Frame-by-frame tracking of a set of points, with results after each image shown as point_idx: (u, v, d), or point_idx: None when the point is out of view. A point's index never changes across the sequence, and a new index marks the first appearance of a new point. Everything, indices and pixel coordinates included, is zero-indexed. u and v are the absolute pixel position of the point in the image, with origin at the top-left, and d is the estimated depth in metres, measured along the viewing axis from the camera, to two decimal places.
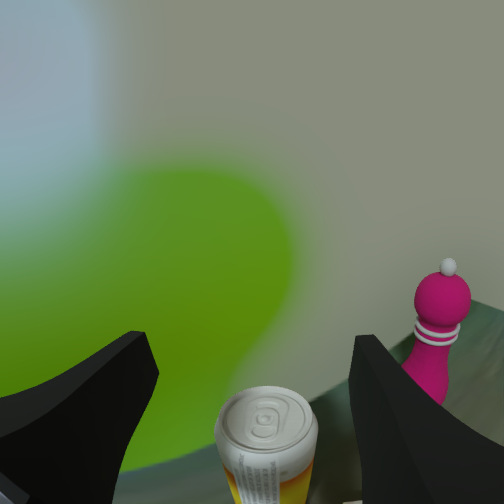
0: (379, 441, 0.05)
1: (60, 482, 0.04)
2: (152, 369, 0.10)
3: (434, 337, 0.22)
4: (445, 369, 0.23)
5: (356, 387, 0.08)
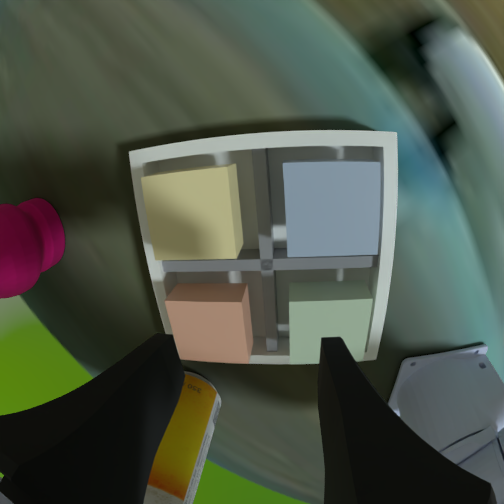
0: (334, 446, 0.05)
1: (92, 498, 0.04)
2: (179, 373, 0.09)
3: None
4: None
5: (321, 389, 0.08)
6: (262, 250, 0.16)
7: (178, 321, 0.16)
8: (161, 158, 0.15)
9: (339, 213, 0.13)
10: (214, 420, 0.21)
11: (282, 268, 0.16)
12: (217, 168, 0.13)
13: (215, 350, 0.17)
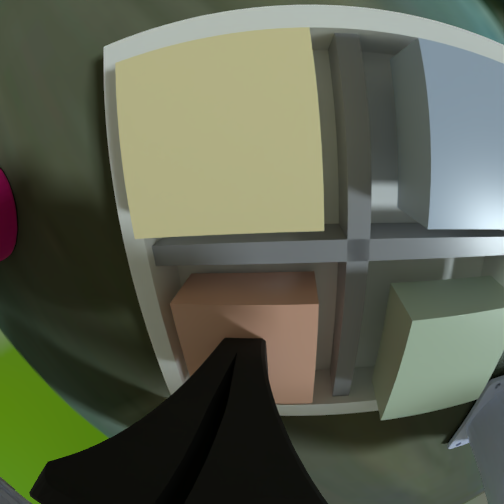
0: None
1: None
2: None
3: None
4: None
5: None
6: (353, 222, 0.08)
7: (195, 340, 0.09)
8: (161, 46, 0.06)
9: None
10: None
11: (385, 257, 0.08)
12: (287, 29, 0.05)
13: None
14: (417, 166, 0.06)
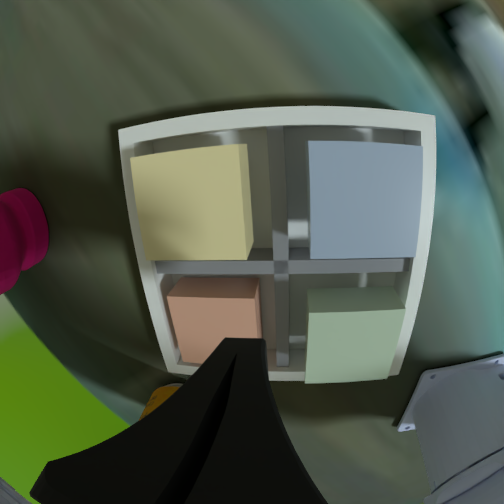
0: None
1: None
2: None
3: None
4: None
5: None
6: (276, 250, 0.13)
7: (181, 319, 0.15)
8: (156, 136, 0.12)
9: (375, 205, 0.10)
10: None
11: (299, 272, 0.14)
12: (225, 146, 0.10)
13: None
14: (309, 219, 0.11)
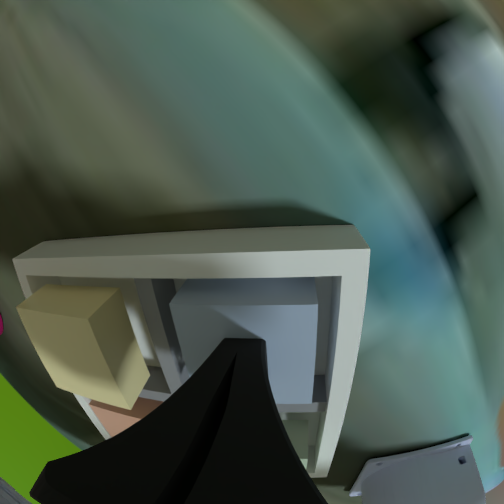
0: None
1: None
2: None
3: None
4: None
5: None
6: (171, 387, 0.11)
7: (106, 421, 0.13)
8: (39, 274, 0.10)
9: None
10: None
11: None
12: (78, 318, 0.08)
13: None
14: None
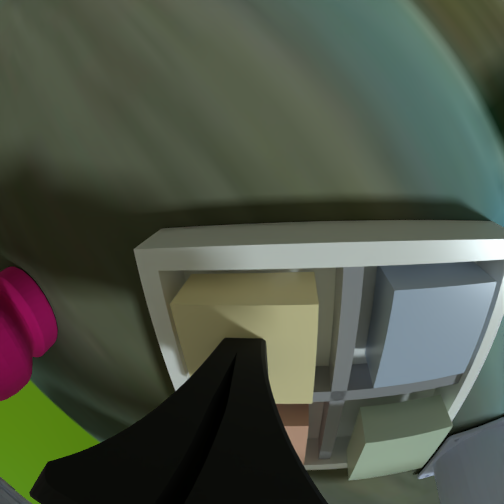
0: None
1: None
2: None
3: None
4: None
5: None
6: (336, 383, 0.11)
7: None
8: (191, 268, 0.09)
9: (442, 341, 0.09)
10: None
11: (356, 398, 0.11)
12: (302, 305, 0.08)
13: None
14: (375, 351, 0.10)
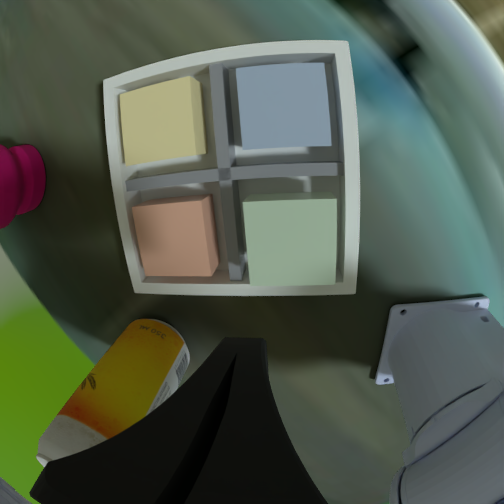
0: None
1: None
2: None
3: None
4: None
5: None
6: (219, 159, 0.15)
7: (143, 229, 0.17)
8: (129, 81, 0.14)
9: (288, 106, 0.13)
10: (178, 372, 0.20)
11: (240, 177, 0.15)
12: (181, 78, 0.13)
13: (177, 260, 0.17)
14: None
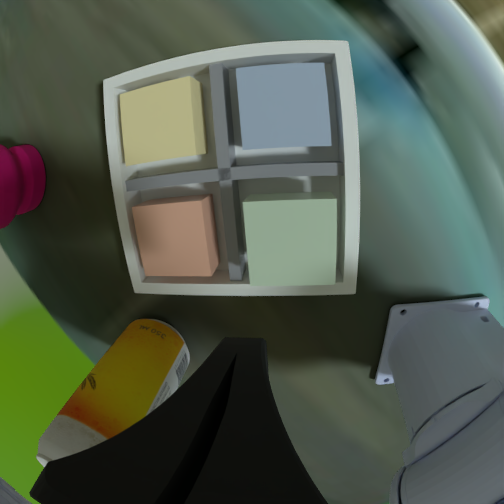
0: None
1: None
2: None
3: None
4: None
5: None
6: (219, 159, 0.15)
7: (143, 229, 0.17)
8: (129, 81, 0.14)
9: (288, 106, 0.13)
10: (178, 372, 0.20)
11: (240, 177, 0.15)
12: (181, 78, 0.13)
13: (177, 260, 0.17)
14: None
